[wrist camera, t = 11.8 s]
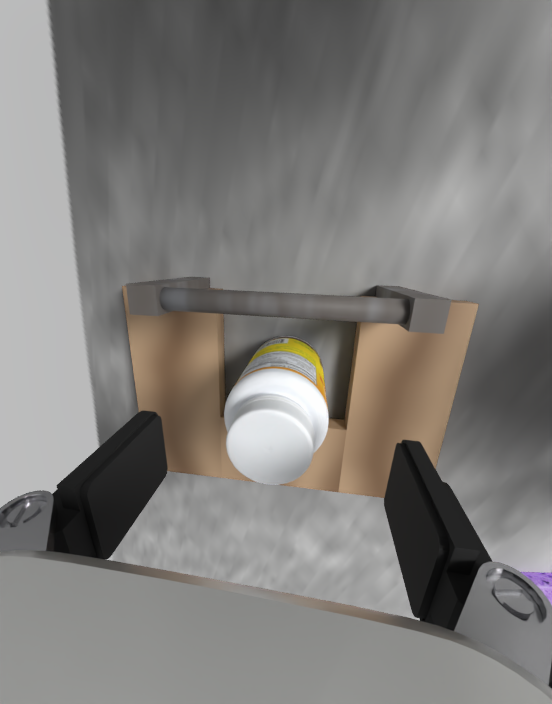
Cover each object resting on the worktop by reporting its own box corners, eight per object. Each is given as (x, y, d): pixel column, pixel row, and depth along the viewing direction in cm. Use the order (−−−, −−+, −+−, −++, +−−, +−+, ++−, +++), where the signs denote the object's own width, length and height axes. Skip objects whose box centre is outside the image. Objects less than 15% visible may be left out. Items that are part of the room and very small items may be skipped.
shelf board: (468, 289, 18) (567, 305, 11) (419, 488, 24) (465, 585, 17) (133, 274, 21) (42, 279, 14) (155, 457, 26) (97, 529, 19)
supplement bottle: (301, 410, 23) (293, 518, 13) (242, 379, 23) (189, 465, 13) (337, 354, 21) (357, 432, 11) (272, 320, 21) (237, 369, 11)
